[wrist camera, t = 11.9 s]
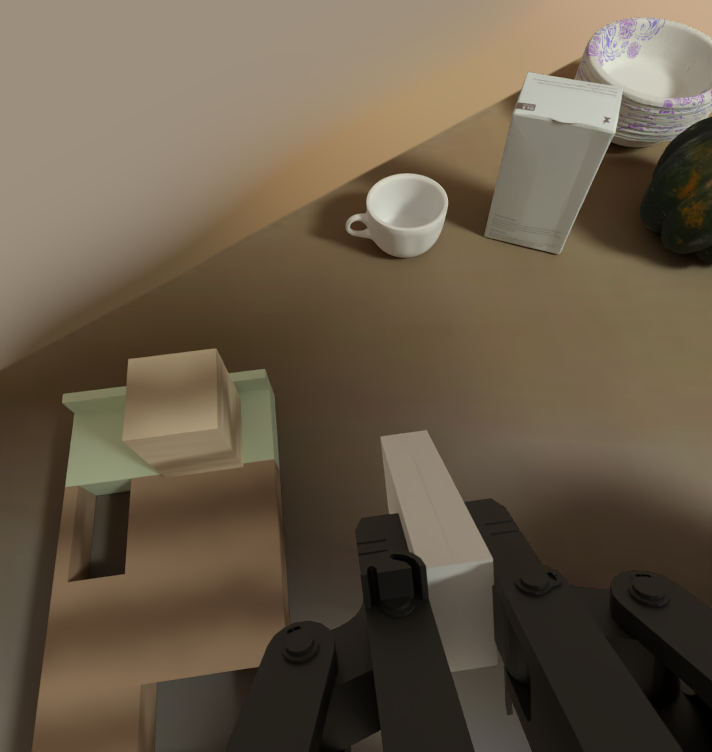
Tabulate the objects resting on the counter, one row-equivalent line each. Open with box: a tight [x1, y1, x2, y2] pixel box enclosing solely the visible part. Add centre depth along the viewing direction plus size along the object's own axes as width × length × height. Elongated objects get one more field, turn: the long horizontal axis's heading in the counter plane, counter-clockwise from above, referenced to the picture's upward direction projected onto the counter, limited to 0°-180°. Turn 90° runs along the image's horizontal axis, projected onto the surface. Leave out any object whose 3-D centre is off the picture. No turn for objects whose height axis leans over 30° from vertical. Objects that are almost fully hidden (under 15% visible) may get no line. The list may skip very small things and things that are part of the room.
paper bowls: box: [574, 17, 712, 147], centre depth 59 cm, size 15×15×8 cm
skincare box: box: [484, 72, 623, 254], centre depth 49 cm, size 8×6×15 cm
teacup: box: [346, 173, 448, 258], centre depth 52 cm, size 10×8×5 cm
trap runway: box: [32, 459, 290, 752], centre depth 37 cm, size 21×16×3 cm
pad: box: [62, 369, 280, 496], centre depth 42 cm, size 7×16×5 cm, turn 98°
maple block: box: [122, 348, 243, 478], centre depth 38 cm, size 6×6×8 cm
